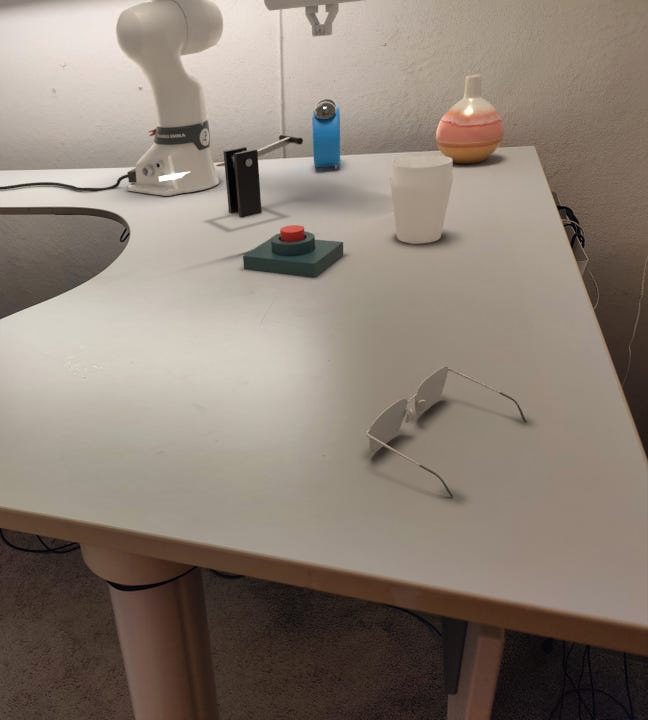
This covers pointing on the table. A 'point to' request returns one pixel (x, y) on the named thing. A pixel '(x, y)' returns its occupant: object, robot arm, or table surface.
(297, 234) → the button
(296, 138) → the lever
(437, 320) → the table surface
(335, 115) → the blue block with ball
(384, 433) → the eyeglasses
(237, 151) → the bracket
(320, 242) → the button box
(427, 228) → the cup
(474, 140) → the vase
